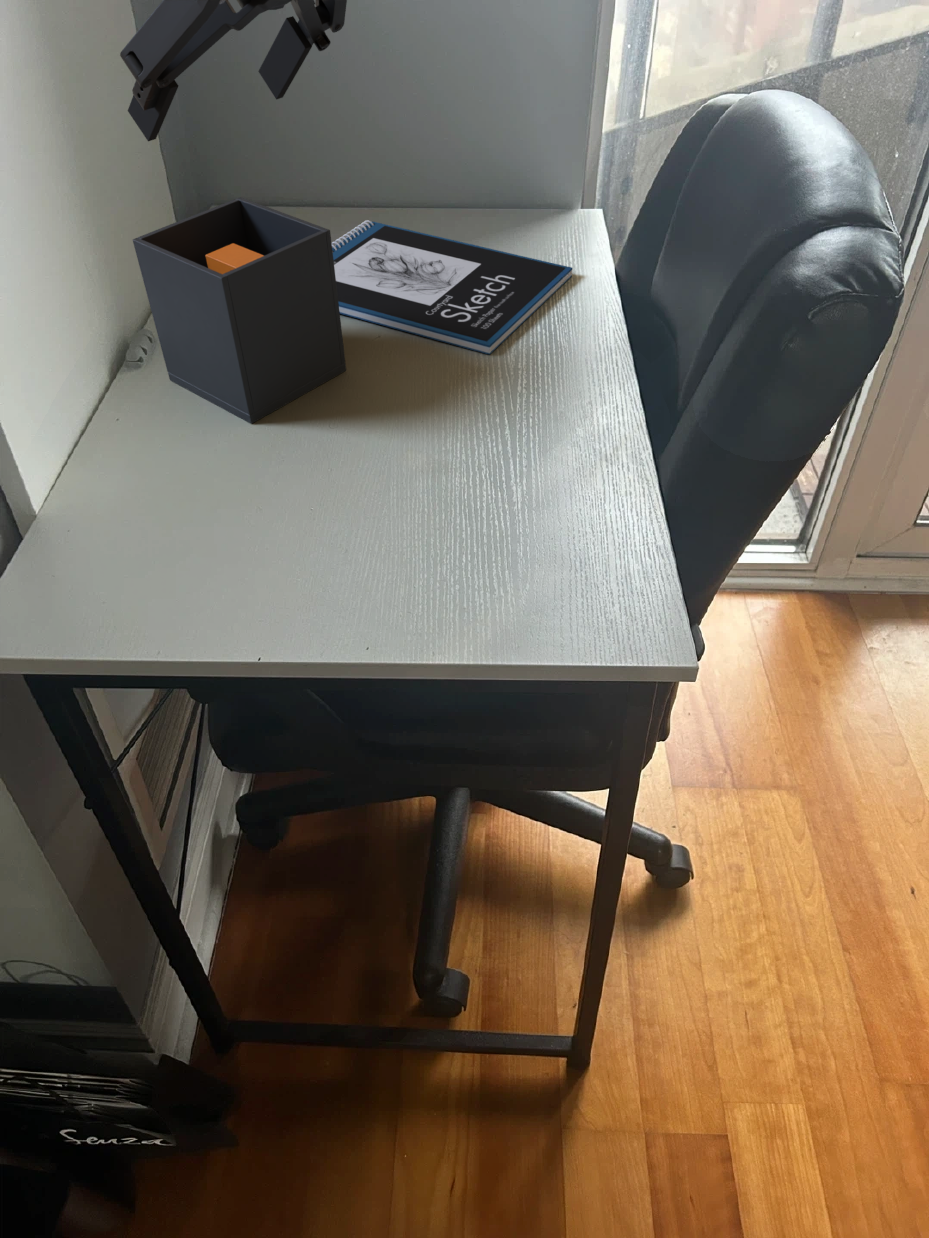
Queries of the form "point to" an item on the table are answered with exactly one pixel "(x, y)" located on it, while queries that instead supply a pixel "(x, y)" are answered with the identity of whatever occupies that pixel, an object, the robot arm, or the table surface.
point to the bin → (245, 307)
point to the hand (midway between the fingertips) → (209, 104)
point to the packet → (230, 258)
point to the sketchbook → (439, 285)
